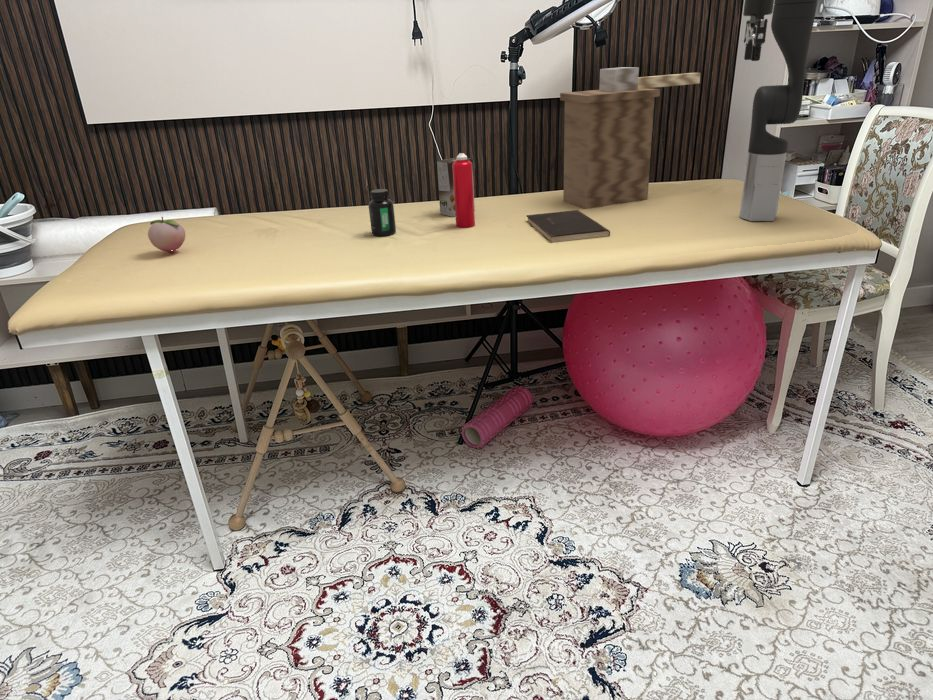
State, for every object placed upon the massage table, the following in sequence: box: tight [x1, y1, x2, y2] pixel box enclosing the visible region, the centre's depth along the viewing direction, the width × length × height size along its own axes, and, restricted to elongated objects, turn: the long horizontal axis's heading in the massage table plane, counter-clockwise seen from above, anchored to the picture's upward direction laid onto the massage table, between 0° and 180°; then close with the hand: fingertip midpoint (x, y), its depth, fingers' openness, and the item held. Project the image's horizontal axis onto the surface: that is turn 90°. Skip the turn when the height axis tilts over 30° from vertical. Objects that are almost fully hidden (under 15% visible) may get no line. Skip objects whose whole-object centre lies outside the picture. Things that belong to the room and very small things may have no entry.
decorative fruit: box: [147, 216, 186, 254], centre depth 169 cm, size 9×8×10 cm
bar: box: [598, 66, 702, 92], centre depth 189 cm, size 32×8×6 cm, turn 111°
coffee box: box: [436, 157, 476, 218], centre depth 192 cm, size 9×6×16 cm
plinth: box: [559, 88, 661, 210], centre depth 193 cm, size 24×16×32 cm, turn 111°
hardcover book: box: [526, 209, 611, 243], centre depth 172 cm, size 16×23×2 cm
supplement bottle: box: [368, 188, 397, 238], centre depth 175 cm, size 7×7×12 cm
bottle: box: [452, 152, 476, 229], centre depth 177 cm, size 5×5×20 cm
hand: (751, 60), depth 182 cm, fingers open, 8 cm apart
